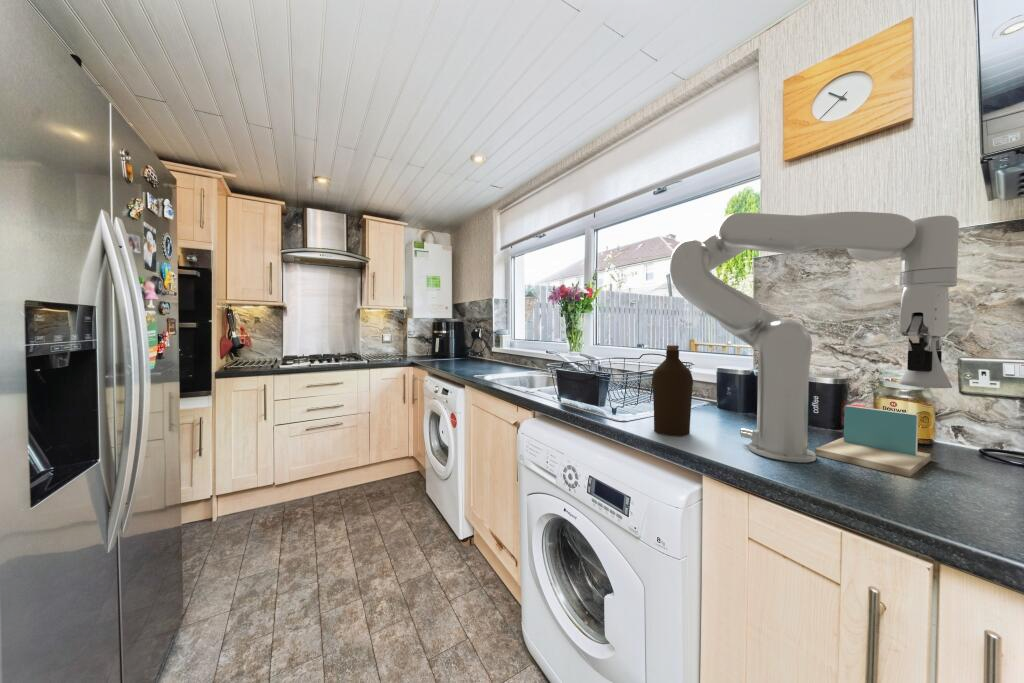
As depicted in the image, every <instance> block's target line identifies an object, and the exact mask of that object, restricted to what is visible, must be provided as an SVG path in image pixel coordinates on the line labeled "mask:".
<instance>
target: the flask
mask: <svg viewBox="0 0 1024 683" xmlns="http://www.w3.org/2000/svg"><path fill="white" fill-rule="evenodd" d="M925 340H926V339H925ZM937 340H938V338H932V339H931V347H930V351H933V357H932V371H930V372H925V371H910V370H908V369H907V368H906V369H905V371H904V372H903V375H902V376H901V378H900V379H899V381H898V384H899V385H900V386H902V385H903V386H908V387H915V388H926V389H927V388H928V389H952V388H953V386H952V383H951V381H950V380H949V378H948V375H947V373H946V371H945V370H944V367H943V365H942V362H941V363H940V361H939V358H938V355H937V351H936V341H937Z"/></svg>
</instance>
